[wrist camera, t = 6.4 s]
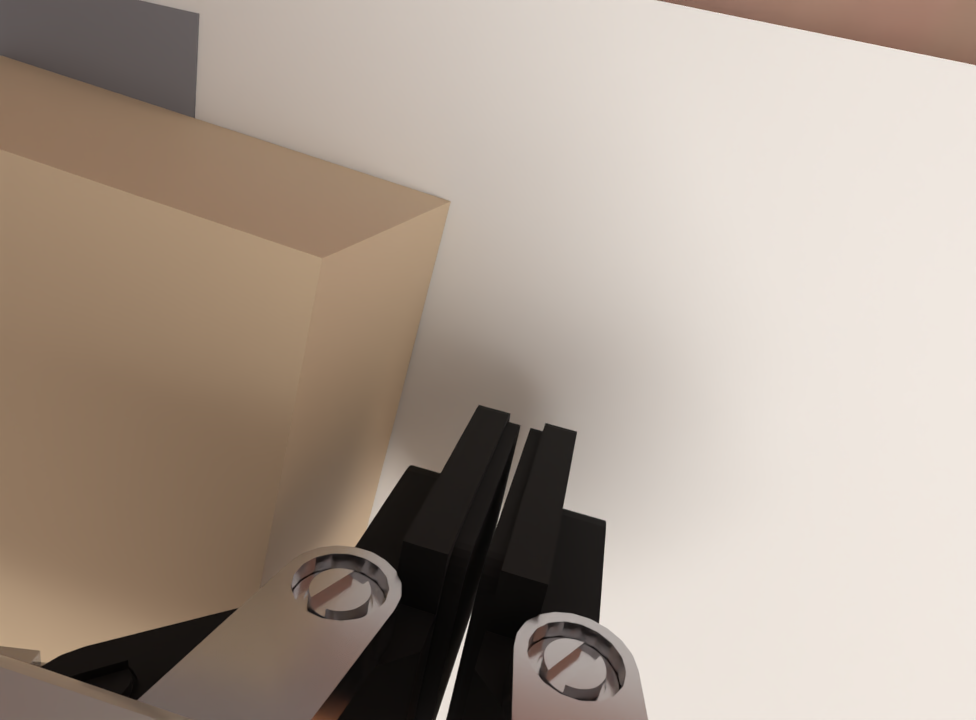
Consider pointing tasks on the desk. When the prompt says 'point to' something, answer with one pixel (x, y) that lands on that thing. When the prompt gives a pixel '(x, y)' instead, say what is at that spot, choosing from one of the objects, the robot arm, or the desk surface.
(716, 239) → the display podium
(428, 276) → the kraft carton
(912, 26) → the desk surface
